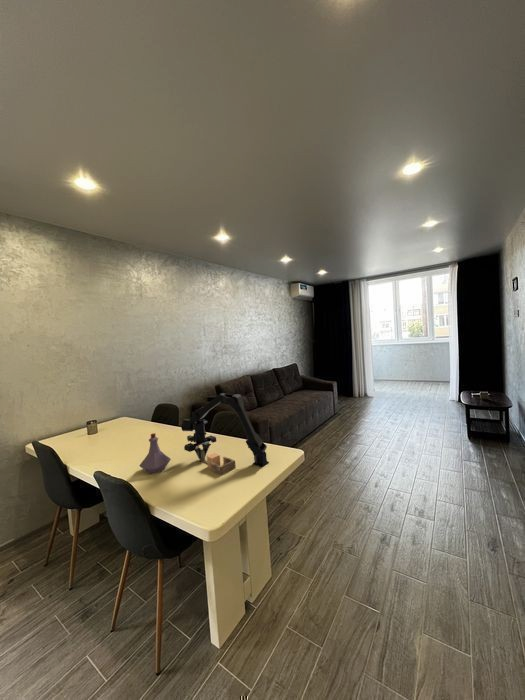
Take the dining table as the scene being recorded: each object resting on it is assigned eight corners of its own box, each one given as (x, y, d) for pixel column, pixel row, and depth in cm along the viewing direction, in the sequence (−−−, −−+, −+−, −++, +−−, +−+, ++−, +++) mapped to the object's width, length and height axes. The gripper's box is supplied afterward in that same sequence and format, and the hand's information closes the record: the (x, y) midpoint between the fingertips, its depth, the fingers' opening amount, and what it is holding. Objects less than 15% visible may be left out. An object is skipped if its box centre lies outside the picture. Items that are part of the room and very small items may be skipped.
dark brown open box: (235, 467, 142) (235, 460, 142) (221, 475, 135) (221, 467, 135) (225, 463, 148) (224, 456, 148) (210, 470, 141) (210, 463, 141)
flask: (140, 467, 152) (137, 432, 151) (171, 460, 158) (168, 427, 157) (138, 480, 136) (135, 441, 136) (172, 472, 142) (169, 435, 142)
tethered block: (220, 466, 146) (219, 455, 146) (212, 469, 142) (211, 458, 142) (204, 458, 157) (204, 448, 157) (197, 461, 154) (196, 451, 154)
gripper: (205, 424, 167) (207, 449, 167) (178, 433, 153) (180, 460, 153) (216, 427, 159) (218, 453, 160) (188, 437, 146) (191, 465, 146)
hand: (202, 457), depth 155 cm, fingers closed on tethered block, 3 cm apart
